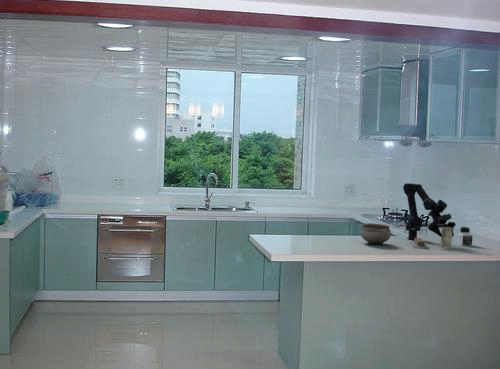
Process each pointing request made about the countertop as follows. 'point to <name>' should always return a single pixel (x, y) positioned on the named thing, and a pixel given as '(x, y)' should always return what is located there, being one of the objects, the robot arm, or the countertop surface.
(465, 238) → the medicine bottle
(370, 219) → the countertop surface
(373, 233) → the cooking pot
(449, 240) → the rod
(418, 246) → the flat rectangular plate
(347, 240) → the countertop surface
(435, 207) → the robot arm
